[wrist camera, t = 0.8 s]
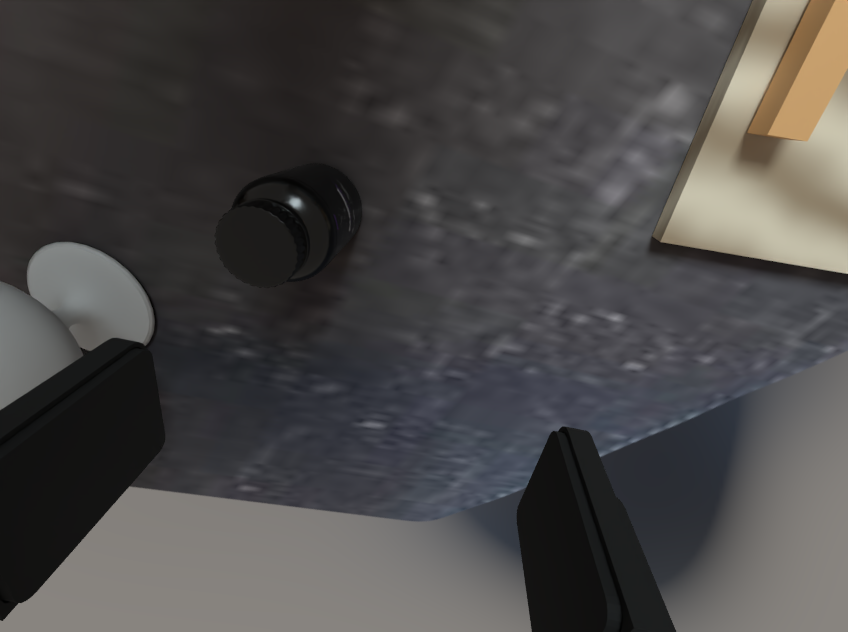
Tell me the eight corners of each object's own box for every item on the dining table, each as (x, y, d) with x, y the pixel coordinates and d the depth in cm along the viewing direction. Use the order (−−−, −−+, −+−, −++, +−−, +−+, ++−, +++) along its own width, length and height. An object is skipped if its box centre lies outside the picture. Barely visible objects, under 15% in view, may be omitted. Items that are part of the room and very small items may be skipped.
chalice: (180, 367, 42) (50, 488, 29) (52, 355, 42) (-133, 467, 29) (146, 236, 35) (-43, 313, 22) (-5, 224, 36) (-276, 291, 23)
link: (878, -174, 20) (919, -202, 18) (957, -161, 20) (1005, -187, 18) (735, 130, 27) (755, 132, 25) (795, 141, 27) (819, 143, 25)
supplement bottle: (380, 203, 32) (342, 250, 22) (331, 261, 35) (275, 327, 24) (312, 141, 31) (234, 157, 20) (265, 206, 33) (174, 252, 23)
